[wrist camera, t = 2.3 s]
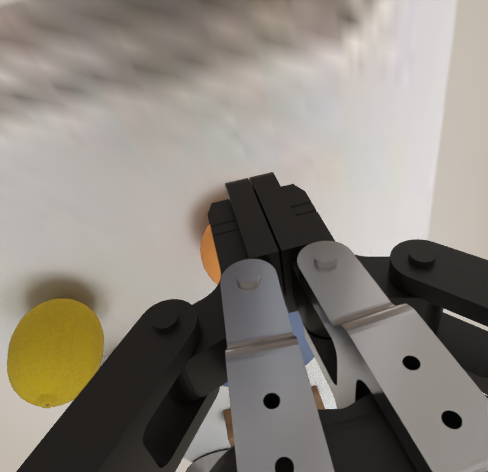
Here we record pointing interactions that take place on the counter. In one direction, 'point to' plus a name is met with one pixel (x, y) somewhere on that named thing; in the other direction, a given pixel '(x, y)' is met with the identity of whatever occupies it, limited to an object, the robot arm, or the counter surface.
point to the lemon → (55, 352)
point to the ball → (210, 256)
